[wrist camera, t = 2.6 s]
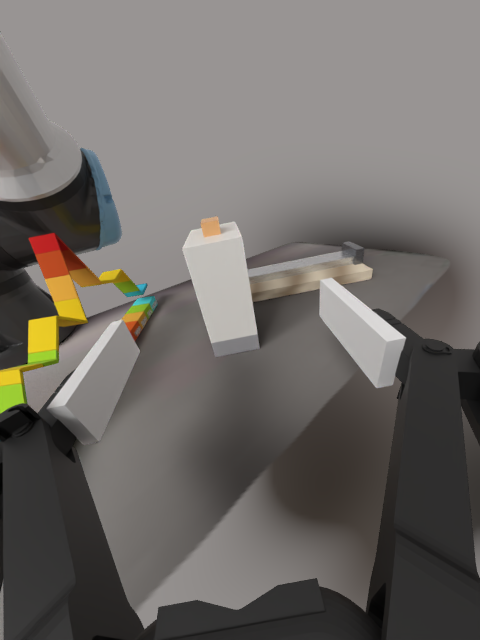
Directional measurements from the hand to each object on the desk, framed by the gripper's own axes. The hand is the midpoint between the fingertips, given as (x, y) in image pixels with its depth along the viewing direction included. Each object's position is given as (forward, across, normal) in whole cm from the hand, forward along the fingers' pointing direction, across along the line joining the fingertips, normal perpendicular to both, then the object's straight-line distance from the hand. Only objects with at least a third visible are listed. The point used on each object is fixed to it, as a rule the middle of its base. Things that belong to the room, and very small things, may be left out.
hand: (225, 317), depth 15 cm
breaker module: (+10, 0, -8) cm, 13 cm away
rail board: (+22, +10, -8) cm, 25 cm away
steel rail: (+22, +10, -7) cm, 25 cm away
